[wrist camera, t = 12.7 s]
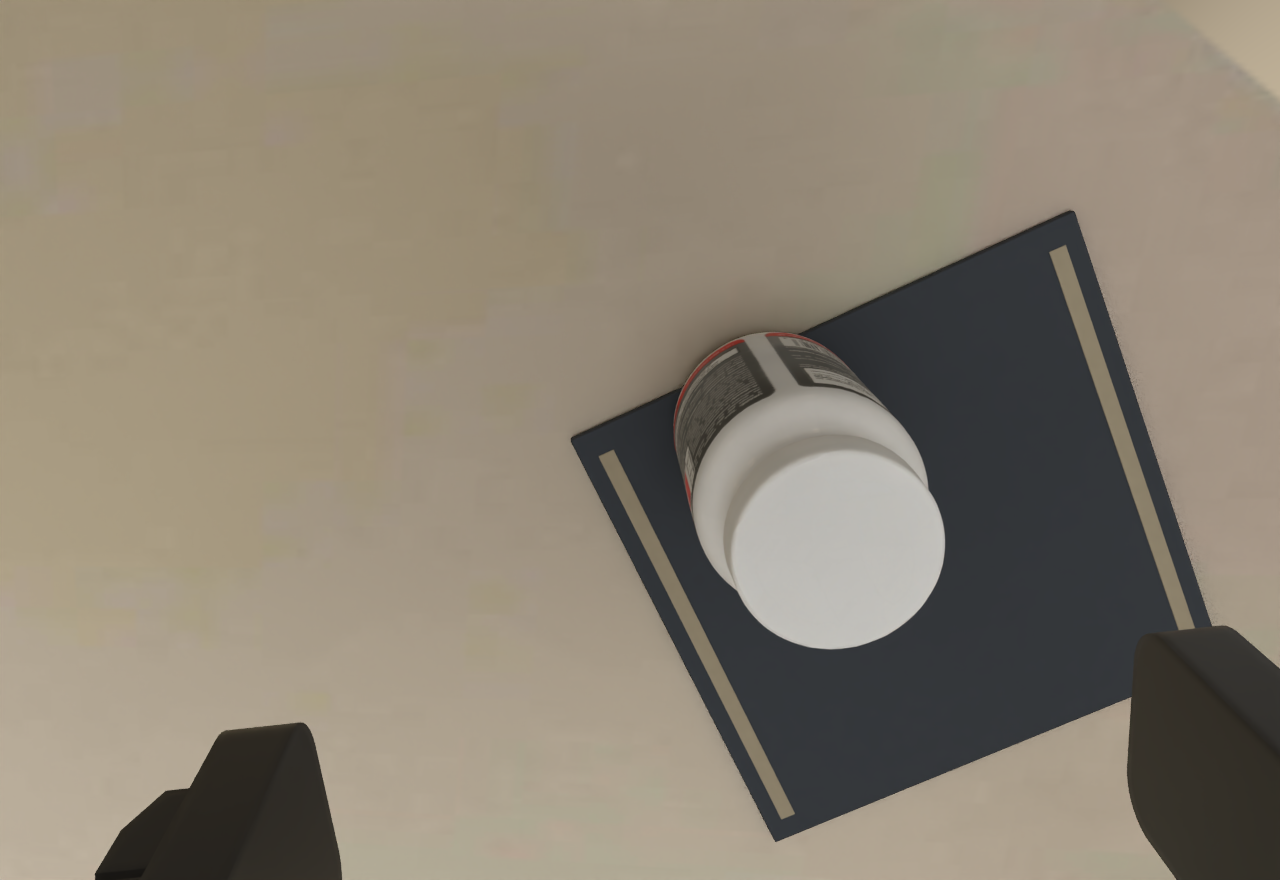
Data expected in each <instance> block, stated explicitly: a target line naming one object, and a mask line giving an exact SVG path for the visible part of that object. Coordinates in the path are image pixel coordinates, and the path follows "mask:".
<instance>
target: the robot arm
mask: <svg viewBox="0 0 1280 880" xmlns="http://www.w3.org/2000/svg"><path fill="white" fill-rule="evenodd" d="M1127 778H1128V787H1129V793H1130V798H1131V802H1132V805H1133V809H1134V812H1135V815H1136V818H1137V820H1138V822H1139V825H1140V827H1141V829H1142V831H1143V833H1144V835H1145V836H1146V838H1147V839H1148V841H1149V842H1150V843H1151V845H1152V846H1153V848H1154V849H1155V850H1156V852H1157V853H1158V854H1159V856H1160V857H1161V859H1162V860H1163V861H1164V863H1165V864H1166V865H1167V867H1168V868H1169V870H1170V871H1171V872H1172V874H1173V875H1174V876H1175V878H1176V879H1177V880H1280V669H1279V668H1278V667H1277V666H1276V665H1275V664H1274V663H1272V662H1271V661H1270V660H1269V659H1268V658H1267V657H1266V656H1264V655H1263V654H1262V653H1261V652H1260V651H1259V650H1258V649H1256V648H1255V647H1254V646H1253V645H1252V644H1251V643H1249V642H1248V641H1247V640H1246V639H1245V638H1244V637H1243V636H1241V635H1240V634H1239V633H1238V632H1237V631H1235V630H1234V629H1232V628H1230V627H1228V626H1212V627H1203V628H1194V629H1184V630H1175V631H1166V632H1157V633H1148V634H1145V635H1143V636H1142V637H1141V638H1140V640H1139V641H1138V644H1137V646H1136V650H1135V655H1134V666H1133V682H1132V698H1131V714H1130V730H1129V747H1128V763H1127ZM95 880H342V871H341V861H340V855H339V850H338V845H337V841H336V836H335V832H334V827H333V823H332V818H331V814H330V809H329V805H328V800H327V796H326V791H325V787H324V782H323V778H322V773H321V769H320V764H319V760H318V755H317V751H316V746H315V743H314V739H313V736H312V733H311V731H310V729H309V728H308V726H307V725H306V724H304V723H291V724H282V725H273V726H263V727H254V728H245V729H235V730H226V731H224V732H222V733H221V734H220V735H219V736H218V737H217V739H216V741H215V742H214V744H213V746H212V748H211V750H210V752H209V753H208V755H207V757H206V759H205V761H204V763H203V764H202V766H201V768H200V770H199V772H198V774H197V775H196V777H195V779H194V781H193V783H192V785H191V786H190V788H188V789H179V790H169V791H165V792H164V793H163V794H162V795H161V796H160V797H158V798H157V799H156V800H155V801H154V802H153V803H152V804H150V805H149V806H148V807H147V808H146V809H145V810H144V811H142V812H141V813H140V814H139V815H138V816H137V817H136V818H135V819H133V820H132V821H131V822H130V823H129V824H128V825H127V826H125V827H124V828H123V829H122V830H121V831H120V833H119V835H118V836H117V838H116V840H115V841H114V843H113V845H112V846H111V848H110V850H109V851H108V853H107V855H106V856H105V858H104V860H103V861H102V863H101V865H100V866H99V868H98V870H97V871H96V873H95Z"/></svg>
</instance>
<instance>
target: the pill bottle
mask: <svg viewBox="0 0 1280 880" xmlns="http://www.w3.org/2000/svg"><path fill="white" fill-rule="evenodd" d="M673 426H674V445H675V449H676V454H677V458H678V461H679V465H680V470H681V473H682V477H683V481H684V485H685V489H686V493H687V497H688V502H689V506H690V510H691V513H692V517H693V521H694V526H695V529H696V532H697V535H698V538H699V541H700V543H701V546H702V548H703V550H704V552H705V554H706V556H707V558H708V559H709V561H710V563H711V564H712V566H713V567H714V569H715V570H716V571H717V572H718V574H719V575H720V576H721V577H722V578H723V579H724V580H725V581H726V582H727V583H728V584H729V585H731V586H732V587H733V588H734V589H735V590H737V591H738V593H739V596H740V597H741V599H742V601H743V603H744V604H745V606H746V607H747V609H748V610H749V611H750V612H751V614H752V615H753V616H754V617H755V618H756V619H757V620H758V621H759V622H760V623H761V624H762V625H763V626H764V627H766V628H767V629H768V630H770V631H771V632H773V633H774V634H776V635H778V636H779V637H782V638H783V639H786V640H788V641H790V642H793V643H796V644H799V645H803V646H807V647H811V648H820V649H843V648H850V647H856V646H860V645H863V644H866V643H869V642H872V641H875V640H877V639H880V638H882V637H884V636H886V635H888V634H890V633H891V632H893V631H894V630H896V629H897V628H899V627H900V626H902V625H903V624H904V623H905V622H907V621H908V620H909V619H910V618H911V617H912V616H914V615H915V614H916V612H917V611H918V610H919V609H920V608H921V607H922V605H923V604H924V603H925V602H926V600H927V598H928V597H929V595H930V594H931V592H932V591H933V589H934V587H935V585H936V583H937V580H938V578H939V575H940V572H941V569H942V565H943V560H944V553H945V532H944V526H943V521H942V518H941V514H940V511H939V509H938V506H937V504H936V502H935V500H934V498H933V496H932V494H931V493H930V492H929V490H928V480H927V475H926V471H925V467H924V464H923V461H922V458H921V456H920V453H919V451H918V449H917V447H916V445H915V443H914V442H913V440H912V439H911V437H910V436H909V434H908V433H907V432H906V430H905V429H904V427H903V426H902V425H901V423H900V422H899V421H898V420H897V419H896V418H895V417H894V416H893V415H892V414H891V413H890V412H889V411H888V409H887V408H886V407H885V406H884V405H883V404H882V403H881V402H880V401H879V400H878V399H877V397H876V396H875V395H874V394H873V393H872V392H871V391H870V390H869V389H868V388H867V387H866V386H865V385H864V384H863V383H862V382H861V380H860V379H859V378H858V377H857V376H856V375H855V374H854V373H853V372H852V371H851V370H850V369H849V367H848V366H847V365H846V364H845V363H844V362H843V361H842V360H841V359H840V358H839V357H837V356H836V355H835V354H834V353H833V352H831V351H830V350H829V349H827V348H826V347H824V346H823V345H821V344H819V343H818V342H815V341H813V340H811V339H809V338H806V337H803V336H800V335H796V334H792V333H785V332H762V333H755V334H750V335H746V336H743V337H740V338H737V339H735V340H732V341H730V342H728V343H726V344H724V345H723V346H721V347H719V348H718V349H716V350H715V351H713V352H712V353H711V354H709V355H708V356H707V357H706V358H705V359H704V360H703V361H702V362H701V363H700V364H699V365H698V366H697V367H696V368H695V370H694V371H693V372H692V374H691V375H690V376H689V378H688V379H687V381H686V383H685V385H684V387H683V389H682V391H681V393H680V396H679V398H678V402H677V405H676V409H675V414H674V424H673Z"/></svg>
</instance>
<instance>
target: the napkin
mask: <svg viewBox="0 0 1280 880" xmlns="http://www.w3.org/2000/svg"><path fill="white" fill-rule="evenodd" d="M798 335H800V336H803V337H806V338H809V339H811V340H813V341H815V342H818V343H819V344H821V345H823V346H824V347H826V348H827V349H829V350H830V351H831V352H833V353H834V354H835V355H836V356H837V357H839V358H840V359H841V360H842V361H843V362H844V363H845V364H846V365H847V366H848V367H849V369H850V370H851V371H852V372H853V373H854V374H855V375H856V376H857V377H858V378H859V379H860V380H861V382H862V383H863V384H864V385H865V386H866V387H867V388H868V389H869V390H870V391H871V392H872V393H873V394H874V395H875V396H876V397H877V399H878V400H879V401H880V402H881V403H882V404H883V405H884V406H885V407H886V408H887V409H888V411H889V412H890V413H891V414H892V415H893V416H894V417H895V418H896V419H897V420H898V421H899V422H900V423H901V425H902V426H903V427H904V429H905V430H906V432H907V433H908V434H909V436H910V437H911V439H912V440H913V442H914V443H915V445H916V447H917V449H918V451H919V453H920V456H921V458H922V461H923V464H924V467H925V471H926V475H927V480H928V490H929V492H930V493H931V494H932V496H933V498H934V500H935V502H936V504H937V506H938V509H939V511H940V514H941V518H942V521H943V526H944V532H945V553H944V560H943V565H942V569H941V572H940V575H939V578H938V580H937V583H936V585H935V587H934V589H933V591H932V592H931V594H930V595H929V597H928V598H927V600H926V602H925V603H924V604H923V605H922V607H921V608H920V609H919V610H918V611H917V612H916V614H915V615H914V616H912V617H911V618H910V619H909V620H908V621H907V622H905V623H904V624H903V625H902V626H900V627H899V628H897V629H896V630H894V631H893V632H891V633H890V634H888V635H886V636H884V637H882V638H880V639H877V640H875V641H872V642H869V643H866V644H863V645H860V646H856V647H850V648H843V649H820V648H811V647H807V646H803V645H799V644H796V643H793V642H790V641H788V640H786V639H783V638H782V637H779V636H778V635H776V634H774V633H773V632H771V631H770V630H768V629H767V628H766V627H764V626H763V625H762V624H761V623H760V622H759V621H758V620H757V619H756V618H755V617H754V616H753V615H752V614H751V612H750V611H749V610H748V609H747V607H746V606H745V604H744V603H743V601H742V599H741V597H740V596H739V593H738V591H737V590H735V589H734V588H733V587H732V586H731V585H729V584H728V583H727V582H726V581H725V580H724V579H723V578H722V577H721V576H720V575H719V574H718V572H717V571H716V570H715V569H714V567H713V566H712V564H711V563H710V561H709V559H708V558H707V556H706V554H705V552H704V550H703V548H702V546H701V543H700V541H699V538H698V535H697V532H696V529H695V526H694V521H693V517H692V513H691V510H690V506H689V502H688V497H687V493H686V489H685V485H684V481H683V477H682V473H681V470H680V465H679V461H678V458H677V454H676V449H675V445H674V426H673V424H674V414H675V409H676V405H677V402H678V398H679V396H680V393H681V391H682V389H683V387H682V388H680V389H677V390H675V391H673V392H671V393H669V394H666V395H664V396H662V397H660V398H658V399H656V400H653V401H651V402H649V403H647V404H645V405H642V406H640V407H638V408H636V409H634V410H631V411H629V412H627V413H625V414H623V415H620V416H618V417H616V418H614V419H612V420H609V421H607V422H605V423H603V424H601V425H598V426H596V427H594V428H592V429H590V430H588V431H585V432H583V433H581V434H579V435H577V436H574V437H572V438H571V442H572V444H573V446H574V448H575V450H576V452H577V454H578V456H579V458H580V460H581V462H582V464H583V466H584V468H585V470H586V472H587V474H588V476H589V478H590V480H591V482H592V484H593V486H594V488H595V490H596V491H597V493H598V495H599V497H600V499H601V501H602V503H603V505H604V507H605V509H606V511H607V513H608V515H609V517H610V519H611V521H612V523H613V525H614V527H615V529H616V531H617V533H618V535H619V537H620V539H621V540H622V542H623V544H624V546H625V548H626V550H627V552H628V554H629V556H630V558H631V560H632V562H633V564H634V566H635V568H636V570H637V572H638V574H639V576H640V578H641V580H642V582H643V584H644V586H645V588H646V589H647V591H648V593H649V595H650V597H651V599H652V601H653V603H654V605H655V607H656V609H657V611H658V613H659V615H660V617H661V619H662V621H663V623H664V625H665V627H666V629H667V631H668V633H669V635H670V637H671V638H672V640H673V642H674V644H675V646H676V648H677V650H678V652H679V654H680V656H681V658H682V660H683V662H684V664H685V666H686V668H687V670H688V672H689V674H690V676H691V678H692V680H693V682H694V684H695V686H696V687H697V689H698V691H699V693H700V695H701V697H702V699H703V701H704V703H705V705H706V707H707V709H708V711H709V713H710V715H711V717H712V719H713V721H714V723H715V725H716V727H717V729H718V731H719V733H720V735H721V736H722V738H723V740H724V742H725V744H726V746H727V748H728V750H729V752H730V754H731V756H732V758H733V760H734V762H735V764H736V766H737V768H738V770H739V772H740V774H741V776H742V778H743V780H744V782H745V784H746V785H747V787H748V789H749V791H750V793H751V795H752V797H753V799H754V801H755V803H756V805H757V807H758V809H759V811H760V813H761V815H762V817H763V819H764V821H765V823H766V825H767V827H768V829H769V831H770V833H771V834H772V836H773V838H774V840H775V842H777V841H779V840H782V839H784V838H787V837H789V836H792V835H794V834H797V833H799V832H801V831H804V830H806V829H809V828H811V827H814V826H816V825H819V824H821V823H824V822H826V821H828V820H831V819H833V818H836V817H838V816H841V815H843V814H846V813H848V812H850V811H853V810H855V809H858V808H860V807H863V806H865V805H868V804H870V803H872V802H875V801H877V800H880V799H882V798H885V797H887V796H890V795H892V794H895V793H897V792H899V791H902V790H904V789H907V788H909V787H912V786H914V785H917V784H919V783H921V782H924V781H926V780H929V779H931V778H934V777H936V776H939V775H941V774H944V773H946V772H948V771H951V770H953V769H956V768H958V767H961V766H963V765H966V764H968V763H970V762H973V761H975V760H978V759H980V758H983V757H985V756H988V755H990V754H993V753H995V752H997V751H1000V750H1002V749H1005V748H1007V747H1010V746H1012V745H1015V744H1017V743H1019V742H1022V741H1024V740H1027V739H1029V738H1032V737H1034V736H1037V735H1039V734H1041V733H1044V732H1046V731H1049V730H1051V729H1054V728H1056V727H1059V726H1061V725H1064V724H1066V723H1068V722H1071V721H1073V720H1076V719H1078V718H1081V717H1083V716H1086V715H1088V714H1090V713H1093V712H1095V711H1098V710H1100V709H1103V708H1105V707H1108V706H1110V705H1113V704H1115V703H1117V702H1120V701H1122V700H1125V699H1127V698H1130V697H1132V682H1133V666H1134V655H1135V650H1136V646H1137V644H1138V641H1139V640H1140V638H1141V637H1142V636H1143V635H1145V634H1148V633H1157V632H1166V631H1175V630H1184V629H1194V628H1203V627H1212V625H1211V622H1210V619H1209V616H1208V613H1207V610H1206V607H1205V604H1204V601H1203V598H1202V595H1201V592H1200V589H1199V586H1198V583H1197V580H1196V577H1195V574H1194V571H1193V568H1192V565H1191V562H1190V559H1189V556H1188V553H1187V550H1186V547H1185V544H1184V541H1183V538H1182V535H1181V532H1180V529H1179V525H1178V522H1177V519H1176V516H1175V513H1174V510H1173V507H1172V504H1171V501H1170V498H1169V495H1168V492H1167V489H1166V486H1165V483H1164V480H1163V477H1162V474H1161V471H1160V468H1159V465H1158V462H1157V459H1156V456H1155V453H1154V450H1153V447H1152V444H1151V441H1150V438H1149V435H1148V432H1147V429H1146V426H1145V423H1144V420H1143V417H1142V414H1141V411H1140V408H1139V405H1138V402H1137V399H1136V396H1135V393H1134V390H1133V387H1132V384H1131V381H1130V378H1129V375H1128V372H1127V369H1126V365H1125V362H1124V359H1123V356H1122V353H1121V350H1120V347H1119V344H1118V341H1117V338H1116V335H1115V332H1114V329H1113V326H1112V323H1111V320H1110V317H1109V314H1108V311H1107V308H1106V305H1105V302H1104V299H1103V296H1102V293H1101V290H1100V287H1099V284H1098V281H1097V278H1096V275H1095V272H1094V269H1093V266H1092V263H1091V260H1090V257H1089V254H1088V251H1087V248H1086V245H1085V242H1084V239H1083V236H1082V233H1081V230H1080V227H1079V224H1078V221H1077V218H1076V215H1075V212H1074V211H1068V212H1066V213H1064V214H1061V215H1059V216H1057V217H1055V218H1053V219H1050V220H1048V221H1046V222H1044V223H1042V224H1039V225H1037V226H1035V227H1033V228H1031V229H1028V230H1026V231H1024V232H1022V233H1020V234H1017V235H1015V236H1013V237H1011V238H1009V239H1007V240H1004V241H1002V242H1000V243H998V244H996V245H993V246H991V247H989V248H987V249H985V250H982V251H980V252H978V253H976V254H974V255H971V256H969V257H967V258H965V259H963V260H960V261H958V262H956V263H954V264H952V265H949V266H947V267H945V268H943V269H941V270H938V271H936V272H934V273H932V274H930V275H928V276H925V277H923V278H921V279H919V280H917V281H914V282H912V283H910V284H908V285H906V286H903V287H901V288H899V289H897V290H895V291H892V292H890V293H888V294H886V295H884V296H881V297H879V298H877V299H875V300H873V301H870V302H868V303H866V304H864V305H862V306H860V307H857V308H855V309H853V310H851V311H849V312H846V313H844V314H842V315H840V316H838V317H835V318H833V319H831V320H829V321H827V322H824V323H822V324H820V325H818V326H816V327H813V328H811V329H809V330H807V331H805V332H802V333H800V334H798Z"/></svg>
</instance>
